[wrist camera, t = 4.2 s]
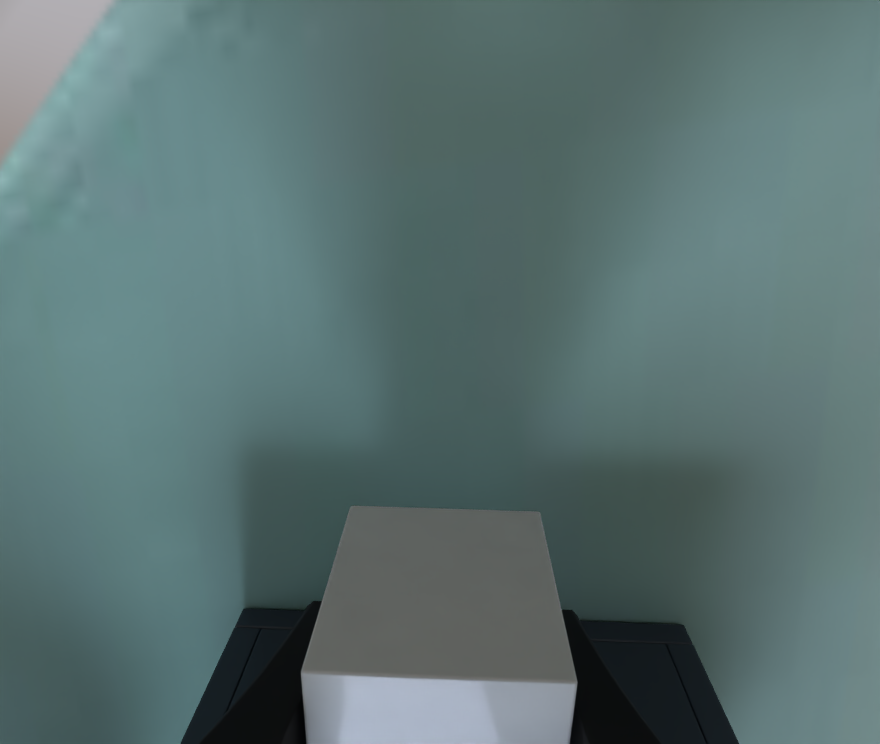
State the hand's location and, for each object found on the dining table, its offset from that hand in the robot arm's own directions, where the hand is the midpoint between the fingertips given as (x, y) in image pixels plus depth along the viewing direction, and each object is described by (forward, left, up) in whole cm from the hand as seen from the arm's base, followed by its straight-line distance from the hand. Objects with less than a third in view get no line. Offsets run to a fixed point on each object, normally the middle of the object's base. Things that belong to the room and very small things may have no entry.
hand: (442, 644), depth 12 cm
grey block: (0, 0, -1) cm, 1 cm away
